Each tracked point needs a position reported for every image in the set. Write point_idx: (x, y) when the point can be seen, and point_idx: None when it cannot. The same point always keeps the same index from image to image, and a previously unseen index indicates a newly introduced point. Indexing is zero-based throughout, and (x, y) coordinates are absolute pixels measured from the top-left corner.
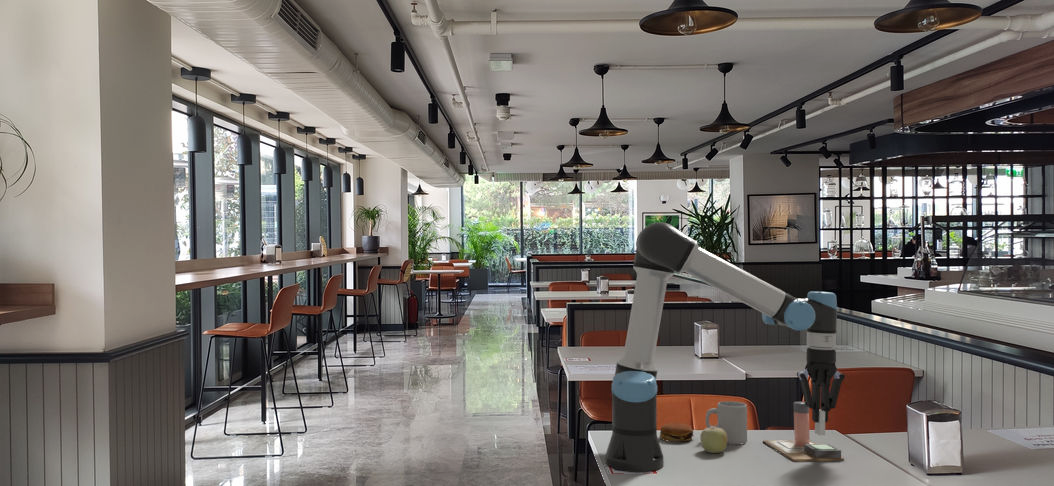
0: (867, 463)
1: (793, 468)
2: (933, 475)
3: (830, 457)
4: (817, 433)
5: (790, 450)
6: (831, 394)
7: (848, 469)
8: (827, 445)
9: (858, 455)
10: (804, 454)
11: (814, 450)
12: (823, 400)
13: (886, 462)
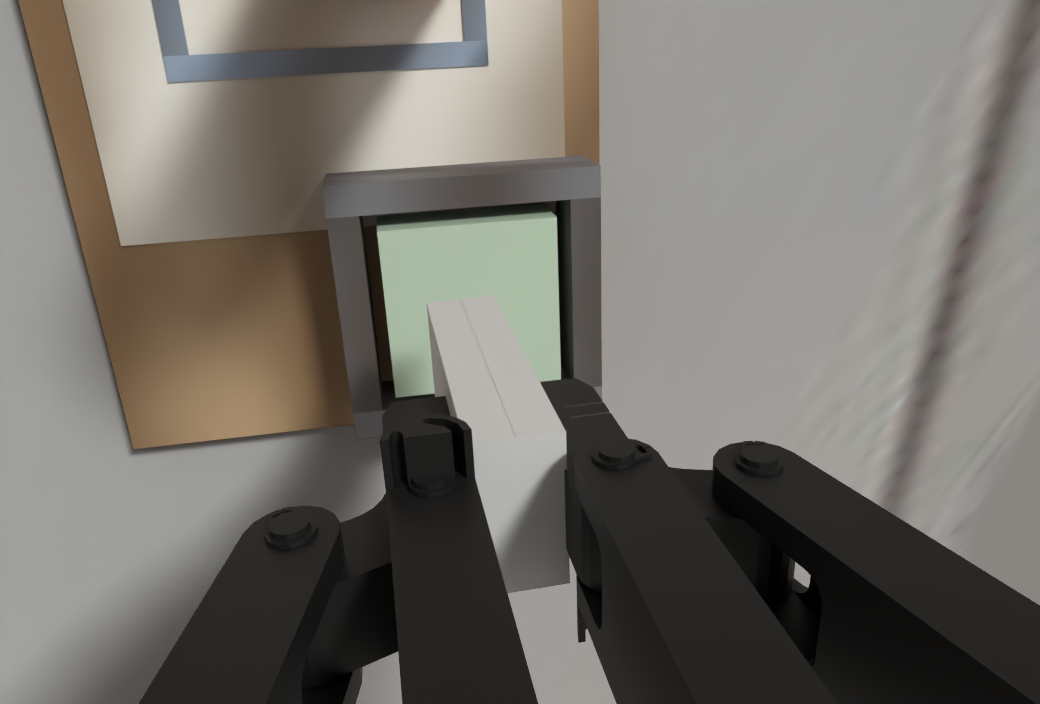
0: None
1: (87, 612)
2: None
3: None
4: (433, 368)
5: (181, 152)
6: (890, 691)
7: (512, 596)
8: (551, 257)
9: (804, 226)
10: (291, 287)
11: (352, 406)
12: (620, 659)
13: (885, 416)
